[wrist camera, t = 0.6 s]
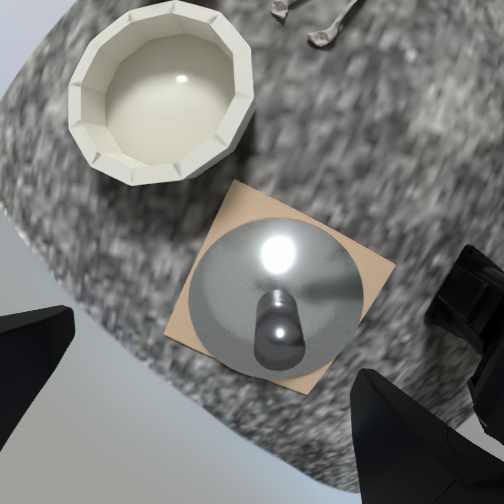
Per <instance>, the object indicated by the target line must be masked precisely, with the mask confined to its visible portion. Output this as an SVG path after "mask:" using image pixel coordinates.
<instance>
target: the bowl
mask: <svg viewBox="0 0 504 504" xmlns="http://www.w3.org/2000/svg"><path fill="white" fill-rule="evenodd" d="M255 110H256V102H255V88H254V74H253V63H252V56H251V48H250V46H249V45H248V44H247V43H246V42H245V40H244V39H243V38H242V37H241V35H240V34H239V33H238V32H237V31H236V30H235V28H234V27H233V26H232V25H231V24H230V22H229V21H228V20H227V19H226V18H225V17H224V16H223V14H222V13H220V12H218V11H215V10H212V9H208V8H205V7H201V6H198V5H194V4H190V3H186V2H182V1H178V0H172V1H168V2H163V3H159V4H154V5H150V6H146V7H142V8H138V9H135V10H131V11H129V12H127V13H125V14H124V15H123V16H121V17H120V18H119V19H117V20H116V21H115V22H114V23H112V24H111V25H110V26H109V27H107V28H106V29H105V30H104V31H102V32H101V33H100V34H99V35H98V36H96V37H95V38H94V39H93V40H92V41H91V42H90V43H89V45H88V47H87V49H86V51H85V53H84V54H83V56H82V58H81V60H80V62H79V64H78V66H77V68H76V70H75V72H74V75H73V77H72V79H71V81H70V83H69V130H70V132H71V134H72V136H73V138H74V139H75V141H76V143H77V144H78V146H79V148H80V150H81V151H82V153H83V155H84V156H85V158H86V160H87V161H88V163H89V165H90V166H91V167H93V168H95V169H97V170H99V171H101V172H103V173H105V174H107V175H109V176H111V177H114V178H116V179H118V180H120V181H122V182H124V183H126V184H128V185H130V186H135V185H143V184H151V183H160V182H169V181H178V180H185V179H191V178H196V177H197V176H199V175H200V174H201V173H203V172H204V171H206V170H207V169H209V168H210V167H212V166H213V165H215V164H217V163H218V162H219V161H220V160H222V159H223V158H225V157H226V156H228V155H229V154H230V153H232V152H233V151H234V150H235V149H236V147H237V145H238V143H239V141H240V139H241V137H242V136H243V134H244V132H245V130H246V128H247V126H248V124H249V121H250V120H251V118H252V116H253V114H254V112H255Z"/></svg>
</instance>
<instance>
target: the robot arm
mask: <svg viewBox="0 0 504 504" xmlns="http://www.w3.org/2000/svg"><path fill="white" fill-rule="evenodd" d="M469 249H470V253H469V254H468V251H469ZM432 313H434V315H433V316H431V315H432ZM426 317H427V318H428V319H429V320H430V321H431V322H433V323H435V324H437V325H439V326H440V327H442V328H444V329H446V330H448V331H450V332H452V333H453V334H455V335H457V336H459V337H461V338H463V339H464V340H465V341H466V342H467V343H468V344H469V345H470V346H471V347H472V348H473V349H474V350H475V351H476V352H477V353H478V354H479V355H480V356H481V357H482V359H481V361H480V363H479V365H478V367H477V369H476V371H475V373H474V375H473V376H472V377H470V379H469V381H468V383H467V385H468V388H469V391H470V394H471V397H472V400H473V403H474V405H473V409H474V412H475V413H476V415H477V417H478V419H479V422H480V424H481V425H482V428H483V429H484V432H485V433H486V434H487V435H489V436H491V437H493V438H494V439H496V440H497V441H499V442H500V443H501V444H502V445H504V271H502V270H501V269H500V268H499V267H498V266H497V265H496V264H494V263H493V262H492V261H491V260H490V259H488V258H487V257H486V256H485V255H484V254H482V253H481V252H480V251H479V250H478V249H476V248H475V247H474V246H472V245H470V244H467V245H466V246H465V247H464V248H463V250H462V252H461V254H460V256H459V258H458V260H457V262H456V263H455V265H454V267H453V269H452V271H451V273H450V274H449V276H448V278H447V280H446V281H445V283H444V285H443V286H442V288H441V290H440V291H439V293H438V295H437V296H436V298H435V300H434V301H433V303H432V304H431V306H430V308H429V309H428V311H427V313H426ZM74 336H75V322H74V312H73V310H72V308H70V307H67V306H64V305H59V306H53V307H48V308H43V309H38V310H33V311H27V312H22V313H16V314H11V315H5V316H0V451H1V450H2V448H3V446H4V445H5V443H6V442H7V440H8V439H9V437H10V435H11V434H12V432H13V431H14V429H15V428H16V426H17V424H18V423H19V421H20V420H21V418H22V416H23V415H24V414H25V412H26V411H27V409H28V408H29V406H30V405H31V403H32V402H33V401H34V399H35V397H36V396H37V395H38V393H39V392H40V390H41V389H42V388H43V386H44V385H45V383H46V382H47V380H48V379H49V378H50V376H51V375H52V373H53V372H54V371H55V369H56V367H57V366H58V364H59V362H60V360H61V359H62V357H63V355H64V353H65V352H66V350H67V348H68V347H69V345H70V343H71V342H72V340H73V338H74ZM350 404H351V424H352V439H353V445H354V452H355V458H356V464H357V471H358V477H359V484H360V492H361V499H362V504H504V462H503V461H502V460H500V459H498V458H497V457H495V456H493V455H492V454H490V453H488V452H487V451H485V450H483V449H482V448H480V447H479V446H477V445H475V444H474V443H472V442H471V441H469V440H468V439H466V438H465V437H463V436H462V435H461V434H459V433H458V432H456V431H455V430H454V429H452V428H451V427H448V425H447V424H446V423H444V422H443V421H442V420H440V419H439V418H438V417H436V416H435V415H433V414H432V413H431V412H429V411H428V410H427V409H425V408H424V407H423V406H421V405H420V404H419V403H417V402H416V401H415V400H414V399H412V398H411V397H410V396H408V395H407V394H406V393H404V392H403V391H402V390H400V389H399V388H398V387H396V386H395V385H394V384H392V383H391V382H390V381H388V380H387V379H386V378H385V377H383V376H382V375H381V374H379V373H378V372H377V371H375V370H374V369H367V368H362V369H360V371H359V372H358V374H357V377H356V379H355V381H354V384H353V386H352V389H351V392H350Z"/></svg>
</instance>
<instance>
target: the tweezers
mask: <svg viewBox="0 0 504 504" xmlns="http://www.w3.org/2000/svg"><path fill="white" fill-rule="evenodd" d="M295 1H297V0H274V4H272V7H271V12H272V13H273V14H274V15H276V16H278V17H280V18H281V19H284V18H285V15H286V13H287V12H288V6H289V5H290V4H292V3H293V2H295ZM356 1H357V0H352V1H351V2H350V3H349V5H348V6H346V7H345V8H344V10H343V11H342V12H341V13H340V15H339V16H338V17H337V19H336V20H335V21H334V23H333V24H332V25H331V26H330V28H329V29H328V30H323V31H317V32H315V33H308V34H307V36H308V39H309V40H311V41H312V42H313V43H314V44H315V45H317V46H320V47H322V46H324V45H327V44H328V43H330V42H331V41H332V40H333V39H334V37H335V36H336V35H337V30H338V26H339V24H340V22H341V21H342V19H343V18H344V16H345V15H346V13H347V12H348V11H349V10H350V8H351V7H352V6H353V5H354V4H355V3H356Z"/></svg>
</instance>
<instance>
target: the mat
mask: <svg viewBox="0 0 504 504" xmlns="http://www.w3.org/2000/svg"><path fill="white" fill-rule="evenodd" d="M269 217H287V218H293V219H299V220H302V221H306V222H309V223H311V224H313V225H316V226H318V227H320V228H321V229H323V230H325V231H326V232H328V233H329V234H331V235H332V236H333V237H334V238H335V239H337V240H338V241H339V242H340V243H341V244H342V246H343V247H344V248H345V249H346V250H347V251H348V252H349V254H350V255H351V257H352V258H353V260H354V261H355V264H356V266H357V268H358V270H359V273H360V276H361V279H362V284H363V291H364V304H363V311H362V315H361V319H360V322H361V320H362V319H363V317H364V316H365V314H366V312H367V311H368V309H369V308H370V306H371V305H372V303H373V302H374V300H375V298H376V297H377V295H378V294H379V292H380V290H381V289H382V287H383V285H384V284H385V282H386V280H387V279H388V277H389V275H390V274H391V272H392V270H393V269H394V267H395V264H394V263H392V262H390V261H389V260H387V259H385V258H383V257H382V256H380V255H378V254H376V253H375V252H373V251H371V250H369V249H367V248H366V247H364V246H362V245H360V244H359V243H357V242H355V241H353V240H351V239H350V238H348V237H346V236H344V235H342V234H340V233H339V232H337V231H335V230H333V229H331V228H329V227H328V226H326V225H324V224H322V223H320V222H318V221H316V220H314V219H313V218H311V217H309V216H307V215H305V214H303V213H301V212H299V211H297V210H295V209H293V208H292V207H290V206H288V205H286V204H284V203H282V202H280V201H278V200H276V199H274V198H272V197H270V196H268V195H266V194H264V193H262V192H260V191H258V190H256V189H254V188H252V187H250V186H248V185H246V184H244V183H242V182H240V181H238V180H235V179H234V180H233V182H232V184H231V187H230V189H229V191H228V193H227V195H226V197H225V199H224V201H223V203H222V205H221V207H220V209H219V211H218V213H217V216H216V218H215V220H214V222H213V224H212V226H211V228H210V230H209V233H208V235H207V237H206V239H205V241H204V243H203V245H202V248H201V250H200V252H199V254H198V256H197V259H196V261H195V263H194V265H193V267H192V270H191V272H190V274H189V276H188V279H187V281H186V283H185V285H184V288H183V290H182V292H181V294H180V297H179V299H178V301H177V304H176V306H175V308H174V310H173V313H172V315H171V317H170V320H169V322H168V325H167V327H166V329H165V332H164V335H166V336H168V337H171V338H173V339H175V340H177V341H179V342H181V343H183V344H185V345H187V346H189V347H191V348H193V349H196V350H198V351H200V352H202V353H204V354H206V355H209V356H211V357H213V358H215V357H214V356H213V355H212V354H211V353H210V352H209V351H208V350H207V349H206V348H205V346H204V345H203V344H202V342H201V341H200V339H199V337H198V336H197V334H196V332H195V330H194V327H193V325H192V322H191V318H190V313H189V305H188V296H189V287H190V283H191V279H192V276H193V273H194V271H195V268H196V267H197V265H198V263H199V261H200V259H201V258H202V256H203V255H204V254H205V252H206V251H207V250H208V248H209V247H210V246H211V245H212V244H213V243H214V242H215V241H216V240H217V239H218V238H220V237H221V236H222V235H223V234H225V233H226V232H228V231H229V230H231V229H233V228H235V227H236V226H239V225H241V224H244V223H246V222H249V221H252V220H256V219H260V218H269ZM360 322H359V323H360ZM335 358H336V357H335ZM335 358H333V359H332V360H331V361H329V362H328V363H327V364H325V365H323V366H322V367H320V368H318V369H316V370H314V371H312V372H309V373H306V374H303V375H300V376H296V377H291V378H284V379H266V380H268V381H271V382H273V383H276V384H279V385H281V386H284V387H287V388H289V389H292V390H295V391H298V392H300V393H303V394H306V395H308V393H309V392H310V391H311V390H312V388H313V387H314V386H315V384H316V383H317V382H318V380H319V379H320V378H321V377H322V375H323V374H324V373H325V371H326V370H327V369H328V367H329V366H330V364H331V363H332V362H333V360H334V359H335ZM215 359H216V358H215ZM263 379H265V378H263Z"/></svg>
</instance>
